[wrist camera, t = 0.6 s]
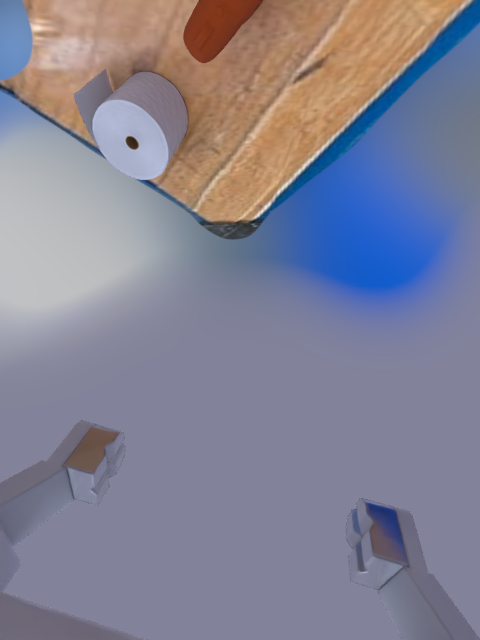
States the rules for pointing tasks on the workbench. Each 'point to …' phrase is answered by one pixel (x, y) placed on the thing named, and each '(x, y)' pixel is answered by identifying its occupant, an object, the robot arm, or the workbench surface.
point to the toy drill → (215, 25)
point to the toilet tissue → (134, 122)
